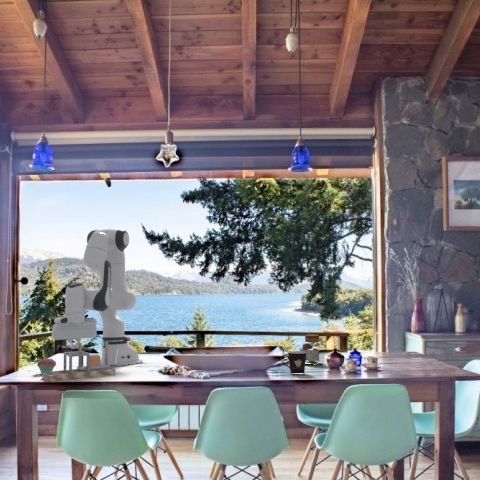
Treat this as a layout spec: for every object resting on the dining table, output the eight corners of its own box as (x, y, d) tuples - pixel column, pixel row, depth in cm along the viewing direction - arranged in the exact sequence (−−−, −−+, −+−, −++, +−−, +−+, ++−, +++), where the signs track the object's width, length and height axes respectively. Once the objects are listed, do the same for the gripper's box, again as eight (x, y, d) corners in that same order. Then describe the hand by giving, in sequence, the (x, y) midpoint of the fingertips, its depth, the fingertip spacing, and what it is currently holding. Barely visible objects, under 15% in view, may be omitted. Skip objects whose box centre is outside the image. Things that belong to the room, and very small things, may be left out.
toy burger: (302, 361, 321) (302, 333, 322) (325, 362, 316) (325, 334, 317) (296, 364, 310) (296, 335, 311) (320, 366, 305) (320, 336, 306)
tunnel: (82, 369, 283) (82, 350, 283) (89, 371, 275) (89, 353, 275) (63, 370, 278) (63, 352, 278) (69, 373, 270) (69, 354, 270)
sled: (106, 366, 287) (106, 340, 287) (109, 367, 282) (110, 341, 283) (76, 368, 279) (77, 342, 280) (80, 370, 275) (80, 343, 275)
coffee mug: (309, 372, 285) (308, 351, 285) (303, 375, 277) (302, 353, 277) (286, 371, 289) (285, 350, 290) (279, 374, 282) (279, 352, 282)
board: (107, 371, 290) (107, 365, 290) (115, 374, 281) (115, 368, 281) (42, 378, 273) (42, 371, 273) (48, 381, 264) (48, 374, 265)
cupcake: (38, 375, 280) (39, 349, 281) (35, 373, 287) (36, 347, 288) (57, 374, 284) (57, 348, 284) (54, 371, 291) (54, 346, 292)
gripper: (94, 317, 285) (94, 346, 285) (50, 319, 274) (50, 349, 274) (98, 317, 280) (98, 347, 279) (54, 320, 269) (54, 351, 268)
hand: (74, 348), depth 276 cm, fingers closed
